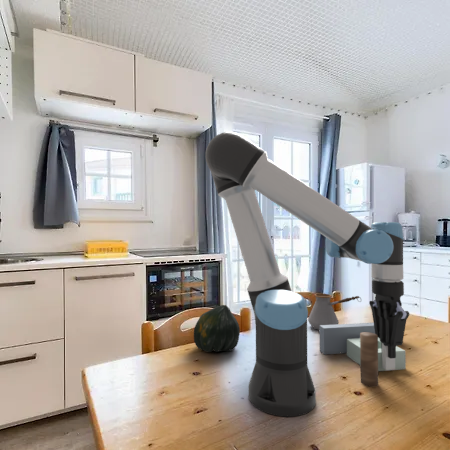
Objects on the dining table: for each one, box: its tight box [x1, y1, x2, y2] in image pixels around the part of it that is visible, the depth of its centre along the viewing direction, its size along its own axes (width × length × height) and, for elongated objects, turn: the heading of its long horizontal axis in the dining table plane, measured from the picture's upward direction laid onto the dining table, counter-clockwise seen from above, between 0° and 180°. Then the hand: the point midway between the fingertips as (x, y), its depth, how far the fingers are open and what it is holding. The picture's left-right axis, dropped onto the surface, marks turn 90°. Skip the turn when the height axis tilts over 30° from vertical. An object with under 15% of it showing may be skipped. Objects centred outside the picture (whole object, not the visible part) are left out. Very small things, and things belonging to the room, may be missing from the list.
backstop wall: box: [318, 322, 380, 355], centre depth 97 cm, size 24×3×8 cm, turn 99°
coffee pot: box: [307, 293, 362, 331], centre depth 116 cm, size 21×12×15 cm, turn 36°
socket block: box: [346, 337, 407, 372], centre depth 89 cm, size 11×11×5 cm
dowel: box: [360, 332, 379, 388], centre depth 77 cm, size 4×4×12 cm
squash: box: [193, 304, 241, 353], centre depth 99 cm, size 14×15×15 cm
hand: (388, 368), depth 81 cm, fingers closed
